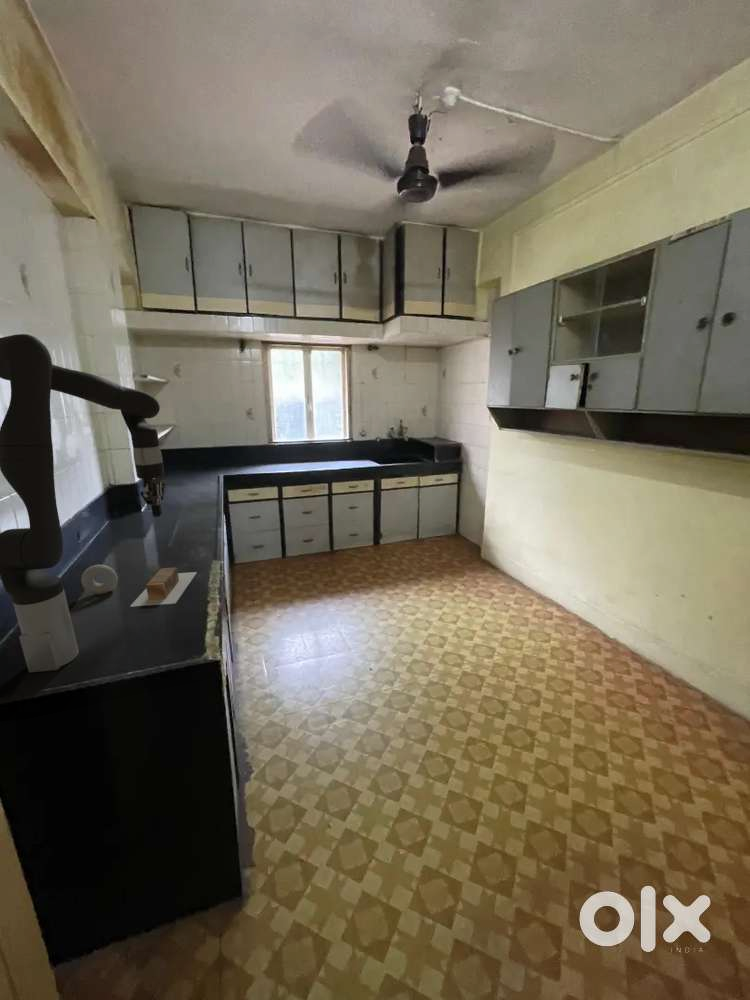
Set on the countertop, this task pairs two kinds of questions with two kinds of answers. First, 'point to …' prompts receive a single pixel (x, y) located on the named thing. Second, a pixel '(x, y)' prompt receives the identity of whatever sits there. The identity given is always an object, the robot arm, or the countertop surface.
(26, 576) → the robot arm
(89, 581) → the donut
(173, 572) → the walnut block
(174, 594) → the grey mat
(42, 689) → the countertop surface
